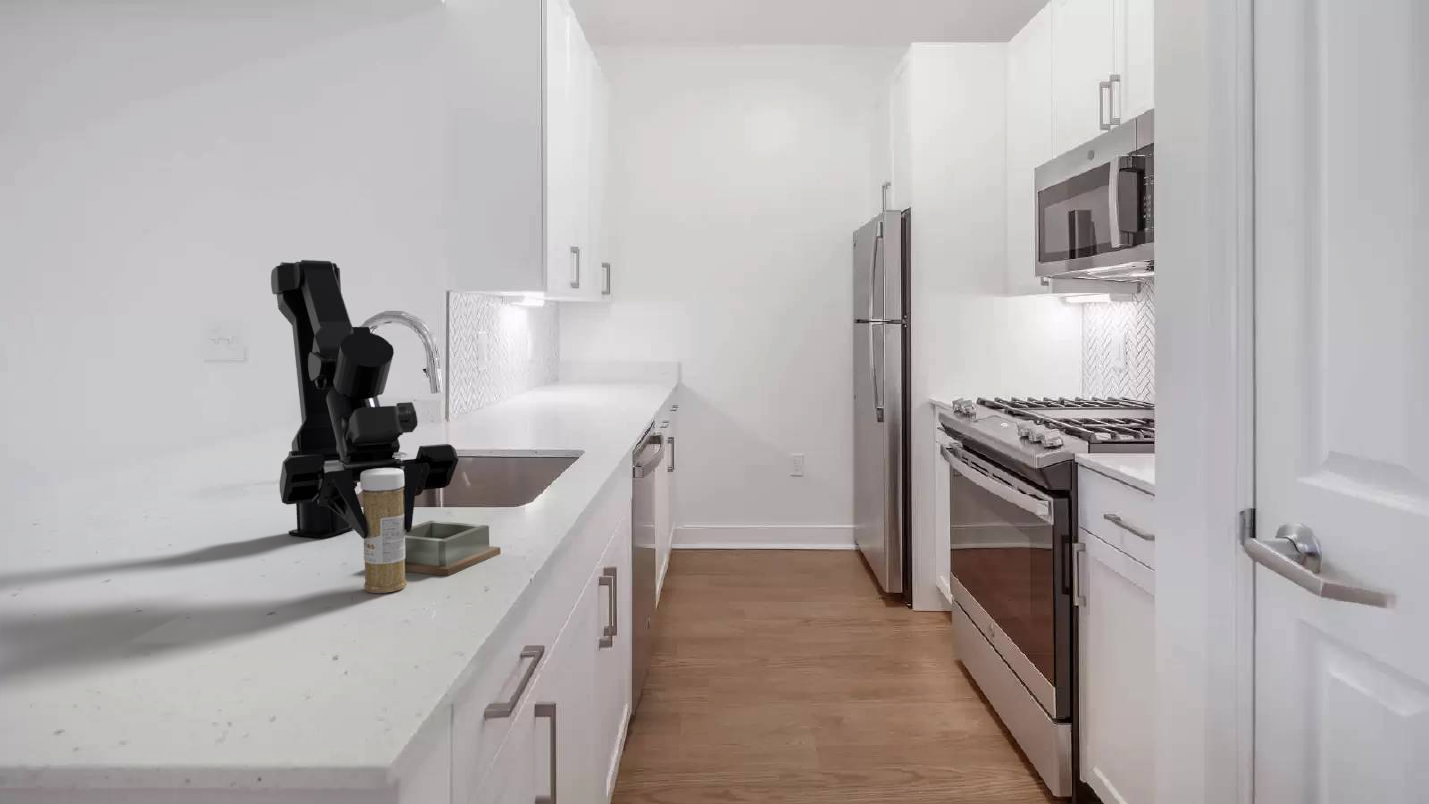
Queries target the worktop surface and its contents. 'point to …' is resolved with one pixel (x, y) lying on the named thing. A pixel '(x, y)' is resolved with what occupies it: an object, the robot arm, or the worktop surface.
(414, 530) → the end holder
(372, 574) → the sprinkles bottle
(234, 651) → the worktop surface
